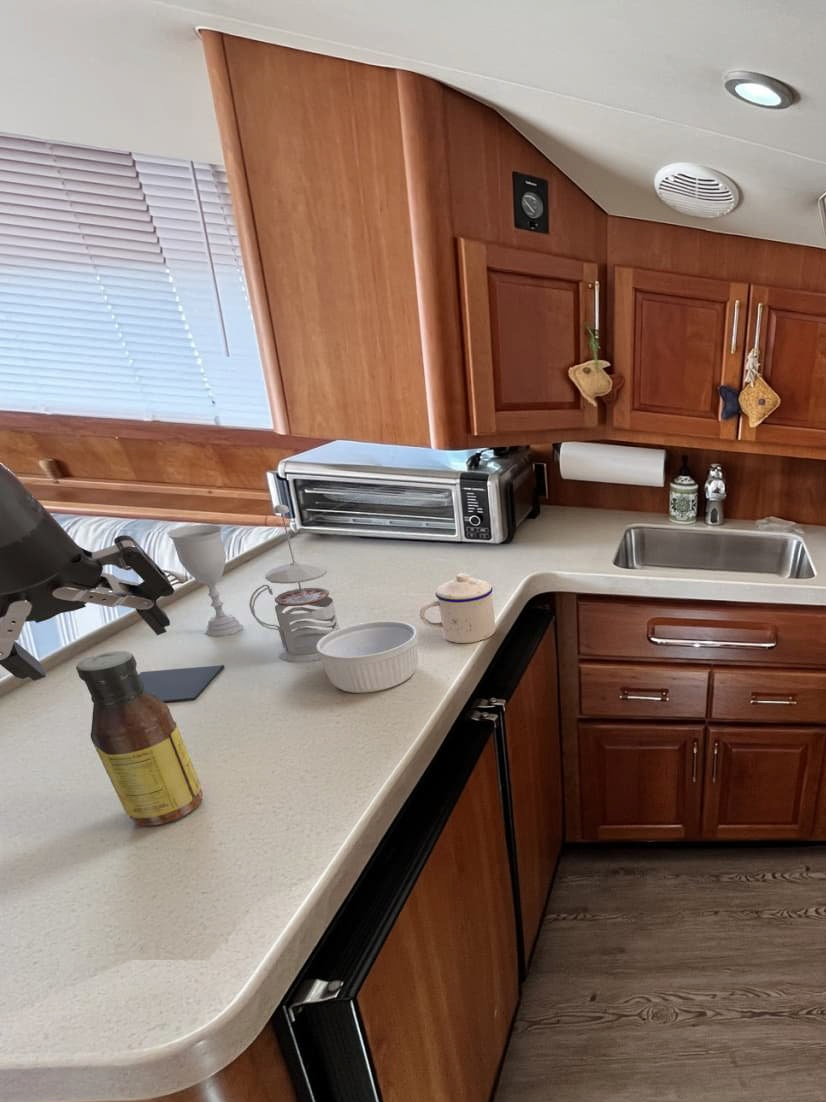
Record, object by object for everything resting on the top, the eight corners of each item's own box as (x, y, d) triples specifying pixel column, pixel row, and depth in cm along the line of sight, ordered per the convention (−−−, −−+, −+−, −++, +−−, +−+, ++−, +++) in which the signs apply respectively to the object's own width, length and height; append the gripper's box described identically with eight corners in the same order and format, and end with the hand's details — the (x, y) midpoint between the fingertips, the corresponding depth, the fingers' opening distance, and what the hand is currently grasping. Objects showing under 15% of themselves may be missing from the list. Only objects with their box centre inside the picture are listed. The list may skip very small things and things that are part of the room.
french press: (357, 650, 108) (327, 507, 98) (272, 671, 100) (229, 518, 90) (340, 630, 114) (310, 494, 104) (258, 649, 106) (217, 503, 96)
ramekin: (322, 668, 102) (313, 629, 99) (416, 650, 110) (410, 613, 107) (328, 707, 92) (318, 665, 90) (430, 684, 100) (423, 645, 97)
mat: (103, 708, 88) (102, 706, 88) (142, 674, 96) (141, 671, 96) (195, 700, 91) (194, 697, 91) (224, 667, 100) (223, 664, 100)
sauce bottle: (163, 791, 75) (106, 640, 67) (220, 792, 75) (169, 643, 67) (110, 831, 68) (40, 671, 61) (172, 833, 69) (110, 674, 61)
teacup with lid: (490, 619, 123) (484, 563, 118) (502, 638, 116) (496, 579, 112) (420, 632, 116) (410, 572, 111) (428, 652, 109) (418, 590, 105)
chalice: (197, 626, 111) (166, 528, 104) (247, 617, 116) (220, 522, 109) (199, 642, 106) (166, 540, 99) (251, 632, 111) (223, 534, 104)
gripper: (83, 463, 53) (183, 592, 65) (-189, 527, 44) (-18, 661, 56) (111, 514, 50) (209, 639, 62) (-174, 592, 42) (3, 719, 53)
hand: (101, 649), depth 59 cm, fingers open, 8 cm apart
